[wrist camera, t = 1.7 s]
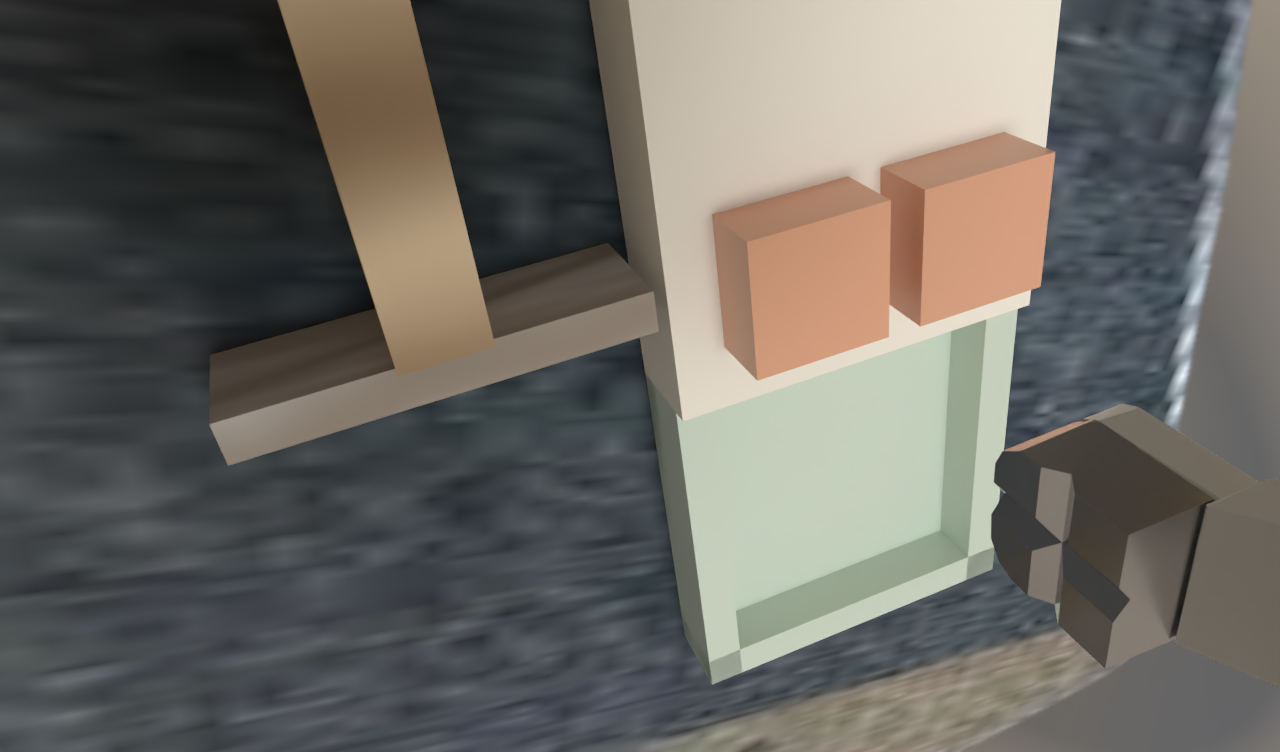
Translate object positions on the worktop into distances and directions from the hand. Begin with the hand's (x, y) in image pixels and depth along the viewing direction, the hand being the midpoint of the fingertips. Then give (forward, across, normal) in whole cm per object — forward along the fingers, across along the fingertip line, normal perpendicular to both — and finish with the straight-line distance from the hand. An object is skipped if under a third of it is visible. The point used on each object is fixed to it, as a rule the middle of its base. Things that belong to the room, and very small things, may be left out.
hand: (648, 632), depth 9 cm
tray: (+18, -11, +15) cm, 26 cm away
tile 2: (+15, -14, +5) cm, 21 cm away
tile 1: (+15, -9, +5) cm, 18 cm away
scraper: (+18, 0, -1) cm, 18 cm away
